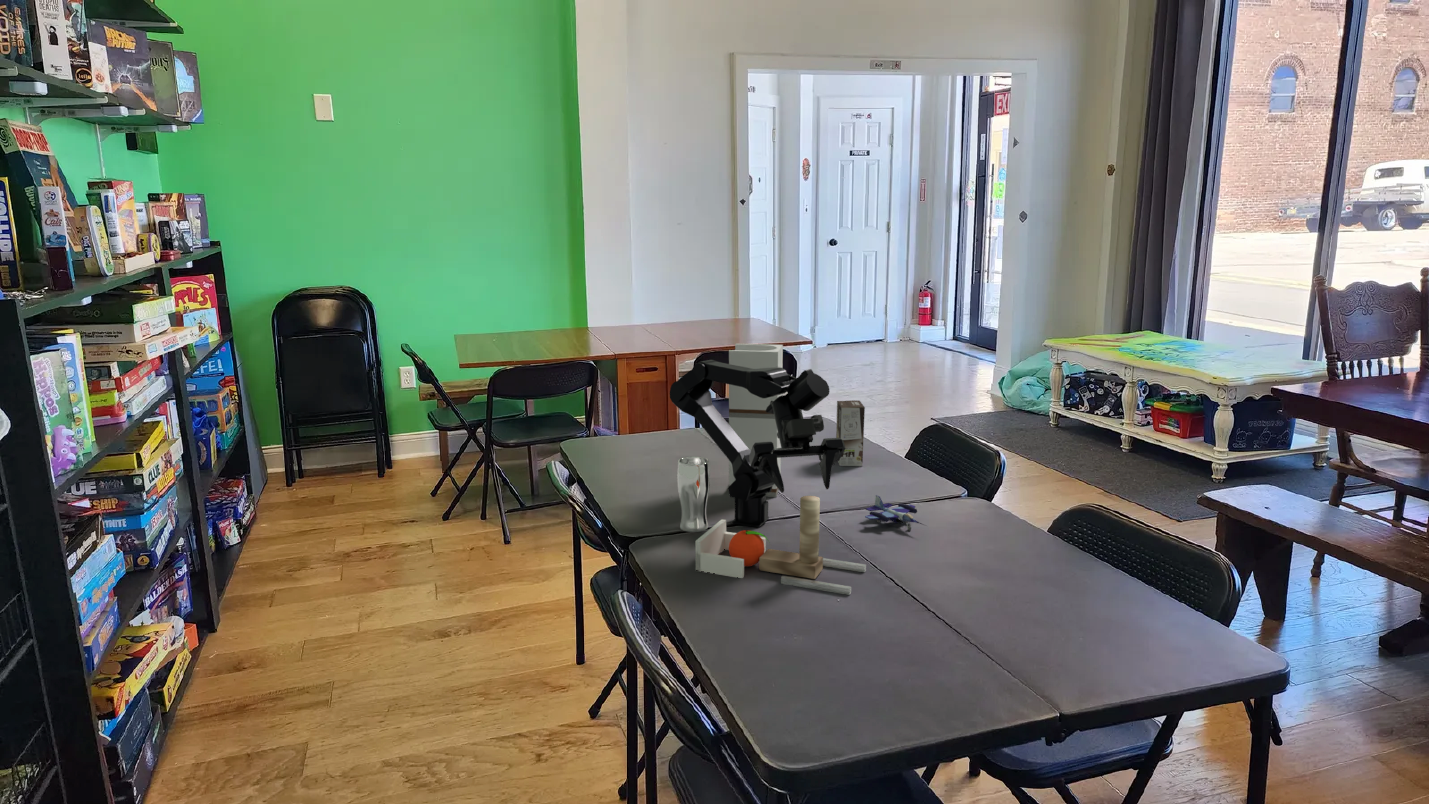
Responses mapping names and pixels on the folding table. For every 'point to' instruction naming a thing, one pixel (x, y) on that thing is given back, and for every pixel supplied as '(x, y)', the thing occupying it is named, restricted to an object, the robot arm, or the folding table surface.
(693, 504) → the beer glass
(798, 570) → the ball
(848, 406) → the coffee box
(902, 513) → the toy airplane
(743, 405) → the white square tower
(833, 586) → the rails
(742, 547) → the clementine
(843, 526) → the folding table surface
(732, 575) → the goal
